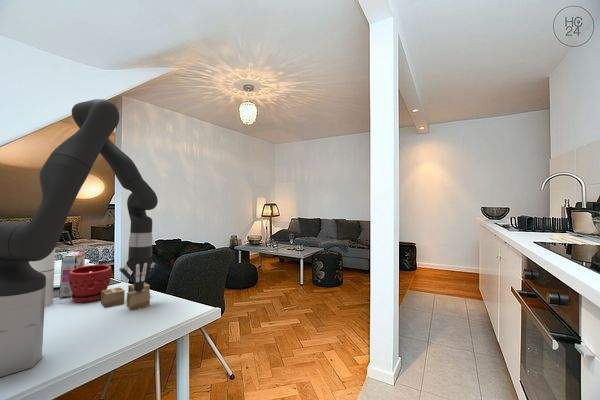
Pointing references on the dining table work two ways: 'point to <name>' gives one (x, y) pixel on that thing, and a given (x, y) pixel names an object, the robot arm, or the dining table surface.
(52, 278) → the cylindrical container
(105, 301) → the marked walnut block bar
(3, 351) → the robot arm
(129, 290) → the cube with circle marking
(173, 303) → the dining table surface
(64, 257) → the candy bar box
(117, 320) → the dining table surface
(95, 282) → the plant pot
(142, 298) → the plain walnut block
